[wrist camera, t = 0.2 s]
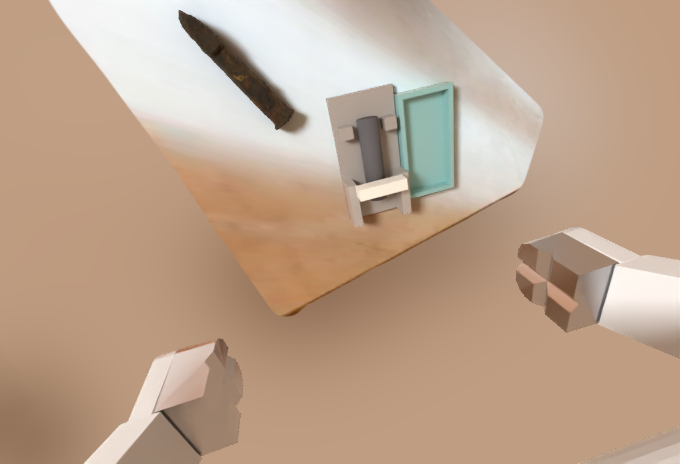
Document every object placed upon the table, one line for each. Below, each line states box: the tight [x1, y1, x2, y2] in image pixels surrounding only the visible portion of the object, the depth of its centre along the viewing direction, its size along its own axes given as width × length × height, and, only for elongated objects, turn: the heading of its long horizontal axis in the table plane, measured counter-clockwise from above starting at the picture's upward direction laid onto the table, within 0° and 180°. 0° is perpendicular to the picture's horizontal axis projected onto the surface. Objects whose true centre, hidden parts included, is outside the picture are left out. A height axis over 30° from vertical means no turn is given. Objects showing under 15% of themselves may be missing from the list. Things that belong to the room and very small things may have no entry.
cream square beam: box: [355, 174, 408, 202], centre depth 52 cm, size 2×8×2 cm, turn 101°
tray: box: [394, 82, 454, 199], centre depth 55 cm, size 19×10×3 cm, turn 11°
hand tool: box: [179, 10, 294, 130], centre depth 44 cm, size 19×4×5 cm, turn 40°
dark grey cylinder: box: [356, 116, 387, 201], centre depth 53 cm, size 14×4×4 cm, turn 11°
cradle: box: [326, 84, 412, 228], centre depth 53 cm, size 22×11×5 cm, turn 11°
